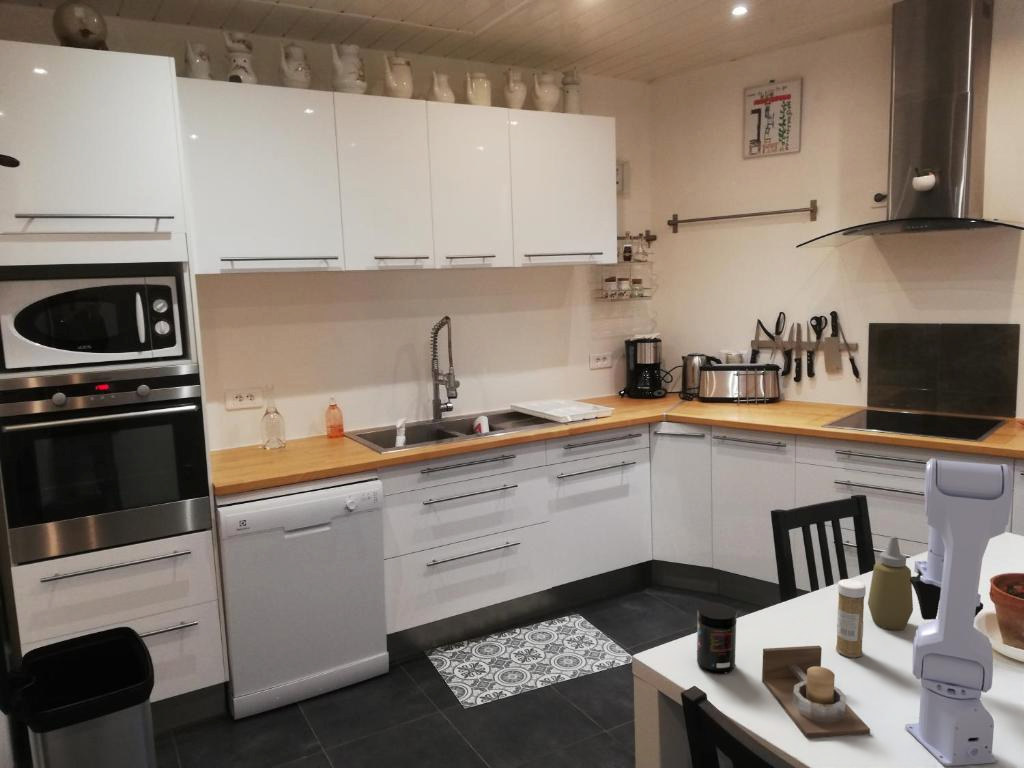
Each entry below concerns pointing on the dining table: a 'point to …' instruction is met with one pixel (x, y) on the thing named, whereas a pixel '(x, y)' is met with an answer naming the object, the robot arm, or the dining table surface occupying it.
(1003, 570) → the dining table surface
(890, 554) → the squeeze bottle
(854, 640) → the sprinkles bottle
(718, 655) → the supplement container
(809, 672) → the oak peg
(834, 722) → the cup bracket
